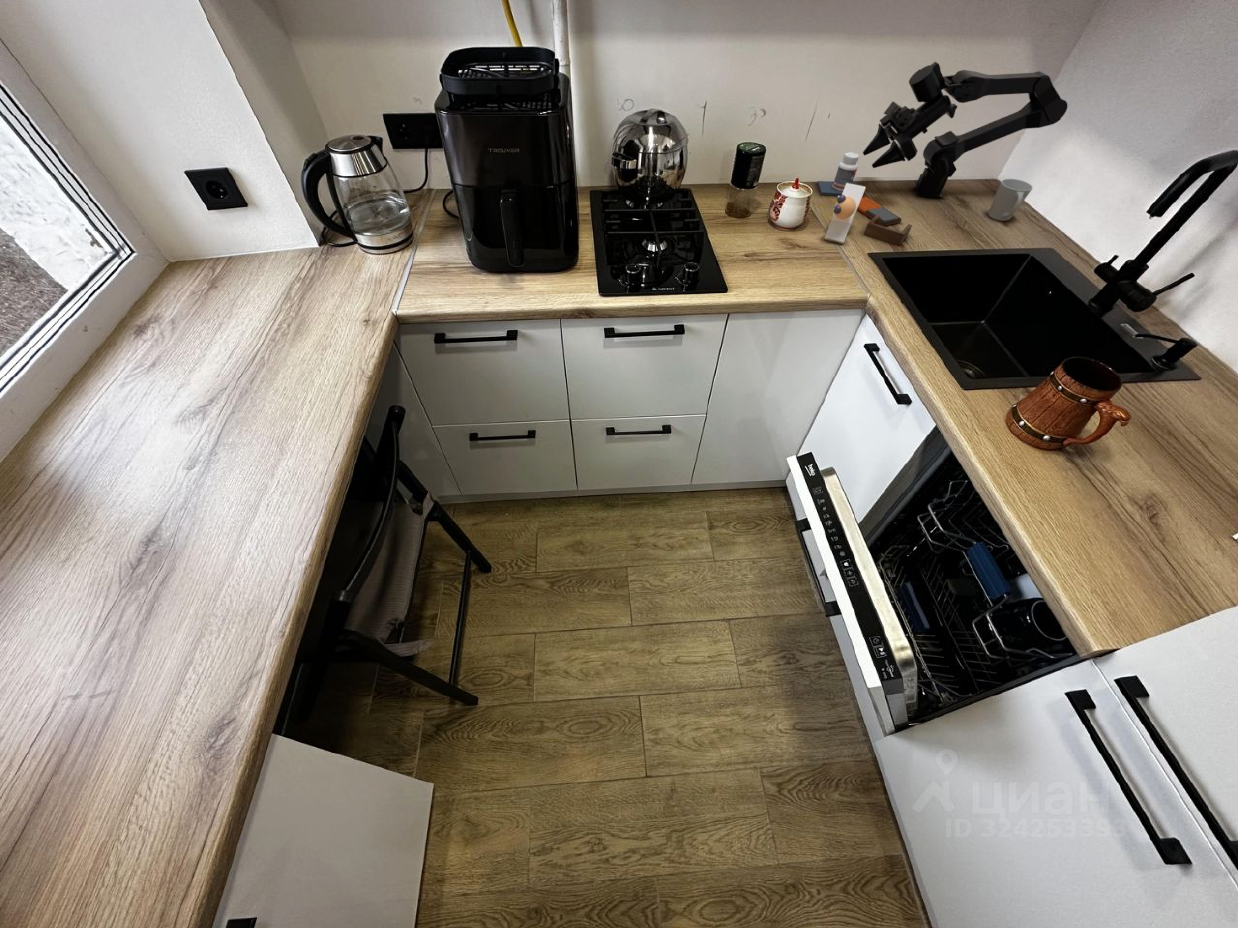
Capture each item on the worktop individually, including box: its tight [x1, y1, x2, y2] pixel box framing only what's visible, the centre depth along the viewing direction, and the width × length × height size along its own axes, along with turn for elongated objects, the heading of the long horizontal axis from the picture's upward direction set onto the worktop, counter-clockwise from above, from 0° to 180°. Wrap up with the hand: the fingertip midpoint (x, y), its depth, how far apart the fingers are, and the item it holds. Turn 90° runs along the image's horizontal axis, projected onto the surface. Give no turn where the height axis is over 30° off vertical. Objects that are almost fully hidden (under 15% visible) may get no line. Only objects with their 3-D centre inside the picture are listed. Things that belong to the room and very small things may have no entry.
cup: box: [987, 178, 1033, 222], centre depth 142 cm, size 8×10×8 cm
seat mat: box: [816, 180, 864, 198], centre depth 155 cm, size 12×8×1 cm, turn 84°
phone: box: [857, 196, 903, 227], centre depth 145 cm, size 6×1×15 cm
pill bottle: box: [832, 151, 860, 191], centre depth 151 cm, size 5×5×9 cm
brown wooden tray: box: [863, 215, 913, 246], centre depth 137 cm, size 6×9×3 cm
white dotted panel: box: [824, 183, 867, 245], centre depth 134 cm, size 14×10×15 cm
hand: (867, 160), depth 149 cm, fingers open, 9 cm apart
